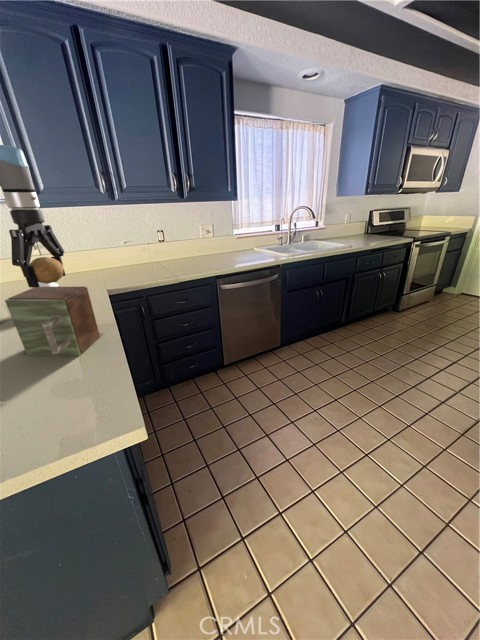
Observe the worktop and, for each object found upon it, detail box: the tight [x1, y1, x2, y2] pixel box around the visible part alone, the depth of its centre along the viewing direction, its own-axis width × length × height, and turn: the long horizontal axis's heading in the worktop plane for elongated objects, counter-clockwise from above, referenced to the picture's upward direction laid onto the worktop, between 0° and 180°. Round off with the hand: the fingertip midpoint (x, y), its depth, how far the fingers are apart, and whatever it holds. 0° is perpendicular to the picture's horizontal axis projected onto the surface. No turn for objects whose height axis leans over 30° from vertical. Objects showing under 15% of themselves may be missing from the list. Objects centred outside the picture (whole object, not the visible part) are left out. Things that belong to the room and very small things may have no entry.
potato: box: [29, 256, 65, 284], centre depth 85 cm, size 10×14×8 cm
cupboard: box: [7, 286, 101, 355], centre depth 91 cm, size 12×18×20 cm, turn 88°
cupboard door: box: [4, 298, 82, 357], centre depth 81 cm, size 8×18×20 cm, turn 88°
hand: (48, 281), depth 86 cm, fingers closed on potato, 12 cm apart
